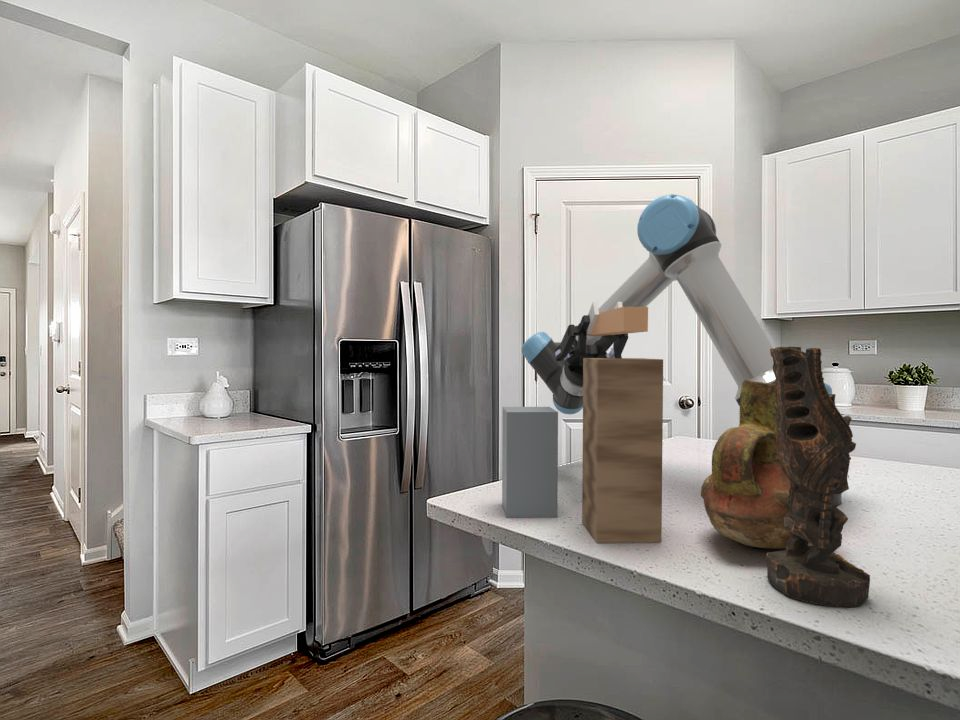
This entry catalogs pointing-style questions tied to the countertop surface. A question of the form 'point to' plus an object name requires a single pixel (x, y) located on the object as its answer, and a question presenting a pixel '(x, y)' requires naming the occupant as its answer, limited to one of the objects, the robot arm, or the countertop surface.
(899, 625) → the countertop surface
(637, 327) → the bar
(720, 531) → the ceramic vessel
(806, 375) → the statue
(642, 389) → the walnut stand
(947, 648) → the countertop surface
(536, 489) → the slate pedestal
